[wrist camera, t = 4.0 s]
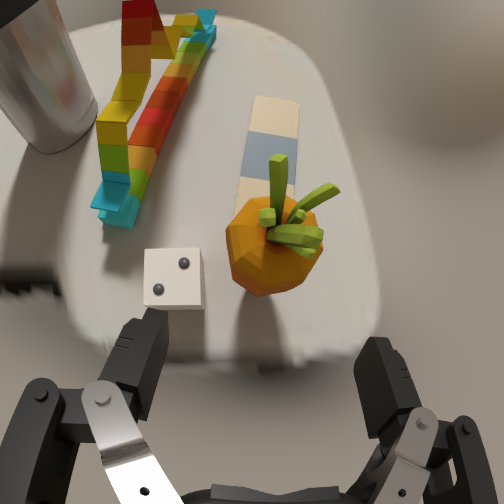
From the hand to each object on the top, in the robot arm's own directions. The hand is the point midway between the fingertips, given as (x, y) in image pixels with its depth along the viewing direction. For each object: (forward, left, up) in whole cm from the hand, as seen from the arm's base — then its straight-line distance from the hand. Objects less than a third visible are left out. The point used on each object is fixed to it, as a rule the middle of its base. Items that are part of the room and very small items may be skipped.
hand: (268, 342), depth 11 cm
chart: (-12, +23, -13) cm, 29 cm away
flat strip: (0, +17, -12) cm, 21 cm away
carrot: (0, +5, -13) cm, 14 cm away
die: (-6, +3, -13) cm, 14 cm away
